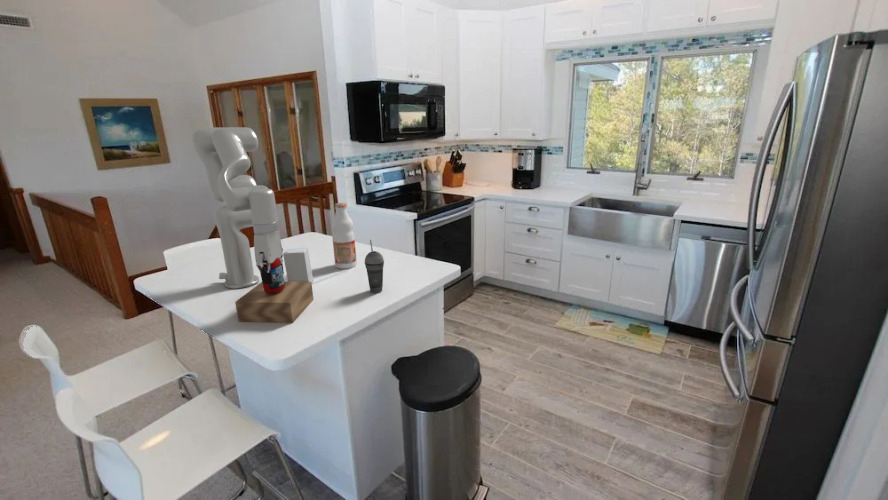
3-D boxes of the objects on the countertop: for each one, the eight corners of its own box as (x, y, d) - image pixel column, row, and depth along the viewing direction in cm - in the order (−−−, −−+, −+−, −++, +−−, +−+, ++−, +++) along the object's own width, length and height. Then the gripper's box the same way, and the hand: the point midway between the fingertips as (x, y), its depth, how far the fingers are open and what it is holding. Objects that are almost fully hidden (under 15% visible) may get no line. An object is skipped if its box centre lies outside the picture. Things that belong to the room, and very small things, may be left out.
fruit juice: (331, 265, 184) (325, 204, 176) (349, 260, 190) (344, 201, 182) (342, 270, 177) (336, 207, 169) (360, 265, 184) (356, 203, 175)
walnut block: (238, 321, 133) (235, 301, 131) (265, 299, 150) (262, 281, 148) (292, 322, 131) (290, 302, 129) (313, 299, 149) (311, 281, 146)
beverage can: (278, 295, 135) (271, 260, 131) (260, 294, 136) (253, 260, 132) (289, 287, 141) (283, 254, 137) (272, 286, 142) (265, 253, 139)
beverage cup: (377, 296, 151) (373, 243, 145) (362, 292, 155) (358, 241, 149) (389, 289, 157) (387, 239, 151) (375, 285, 161) (372, 236, 155)
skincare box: (313, 282, 165) (309, 247, 160) (309, 288, 159) (305, 251, 154) (292, 283, 164) (287, 247, 160) (287, 289, 159) (282, 252, 154)
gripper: (267, 221, 141) (274, 269, 146) (240, 234, 124) (249, 288, 129) (289, 221, 140) (295, 270, 145) (264, 234, 123) (272, 289, 129)
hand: (273, 278), depth 137 cm, fingers open, 7 cm apart
